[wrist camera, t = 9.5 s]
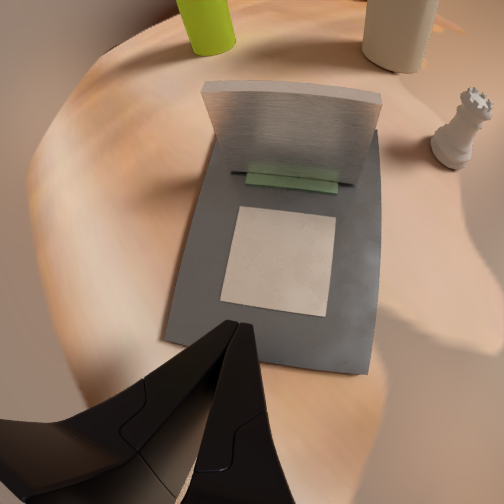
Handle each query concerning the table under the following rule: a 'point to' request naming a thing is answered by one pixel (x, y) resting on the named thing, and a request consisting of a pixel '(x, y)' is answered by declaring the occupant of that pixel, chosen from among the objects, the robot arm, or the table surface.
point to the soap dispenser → (207, 25)
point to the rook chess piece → (461, 130)
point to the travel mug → (398, 33)
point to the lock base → (284, 265)
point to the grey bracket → (293, 127)
